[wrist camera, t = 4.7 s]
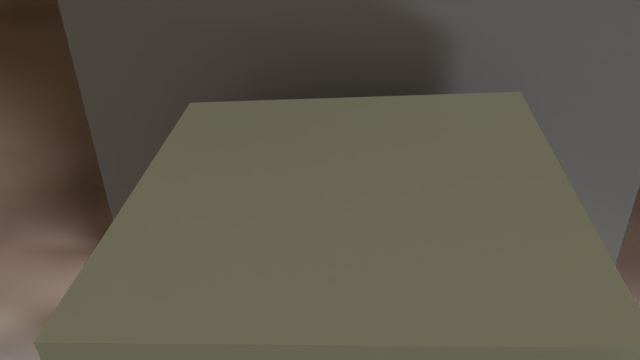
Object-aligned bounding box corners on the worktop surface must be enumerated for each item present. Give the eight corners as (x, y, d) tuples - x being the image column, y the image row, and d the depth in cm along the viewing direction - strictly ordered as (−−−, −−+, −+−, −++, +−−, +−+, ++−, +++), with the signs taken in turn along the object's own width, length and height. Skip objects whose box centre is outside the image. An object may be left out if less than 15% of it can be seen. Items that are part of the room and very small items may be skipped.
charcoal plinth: (619, -105, 12) (717, -72, 8) (535, 279, 17) (575, 395, 14) (130, -98, 13) (41, -65, 9) (193, 267, 18) (151, 374, 14)
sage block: (520, 91, 9) (660, 348, 4) (492, 337, 11) (565, 648, 7) (190, 103, 9) (33, 342, 5) (235, 334, 12) (157, 625, 8)
